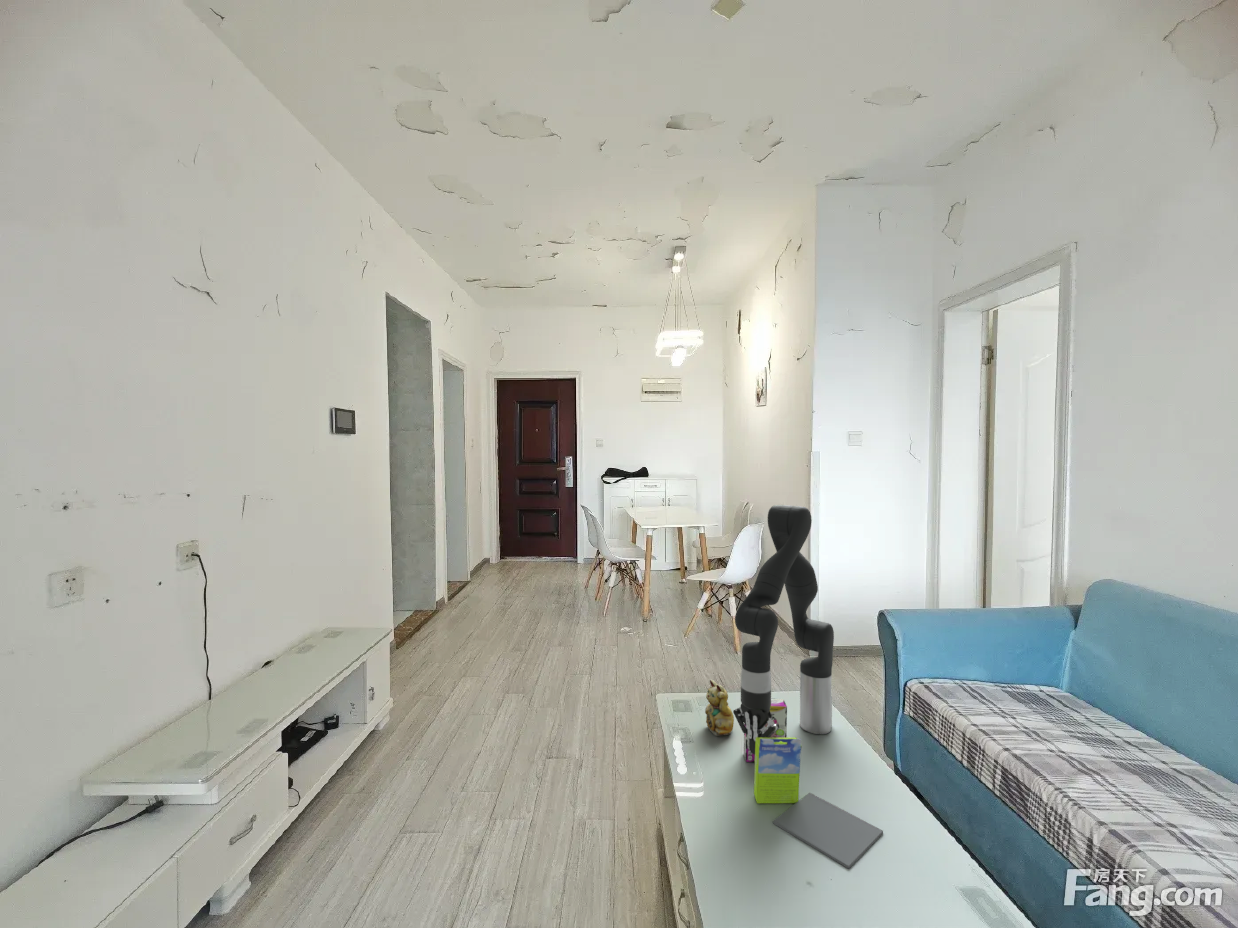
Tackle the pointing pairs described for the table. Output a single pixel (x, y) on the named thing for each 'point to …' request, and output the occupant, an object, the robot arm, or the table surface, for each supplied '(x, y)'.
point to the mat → (829, 829)
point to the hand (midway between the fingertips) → (755, 752)
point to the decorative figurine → (718, 711)
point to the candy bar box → (778, 716)
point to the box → (777, 770)
